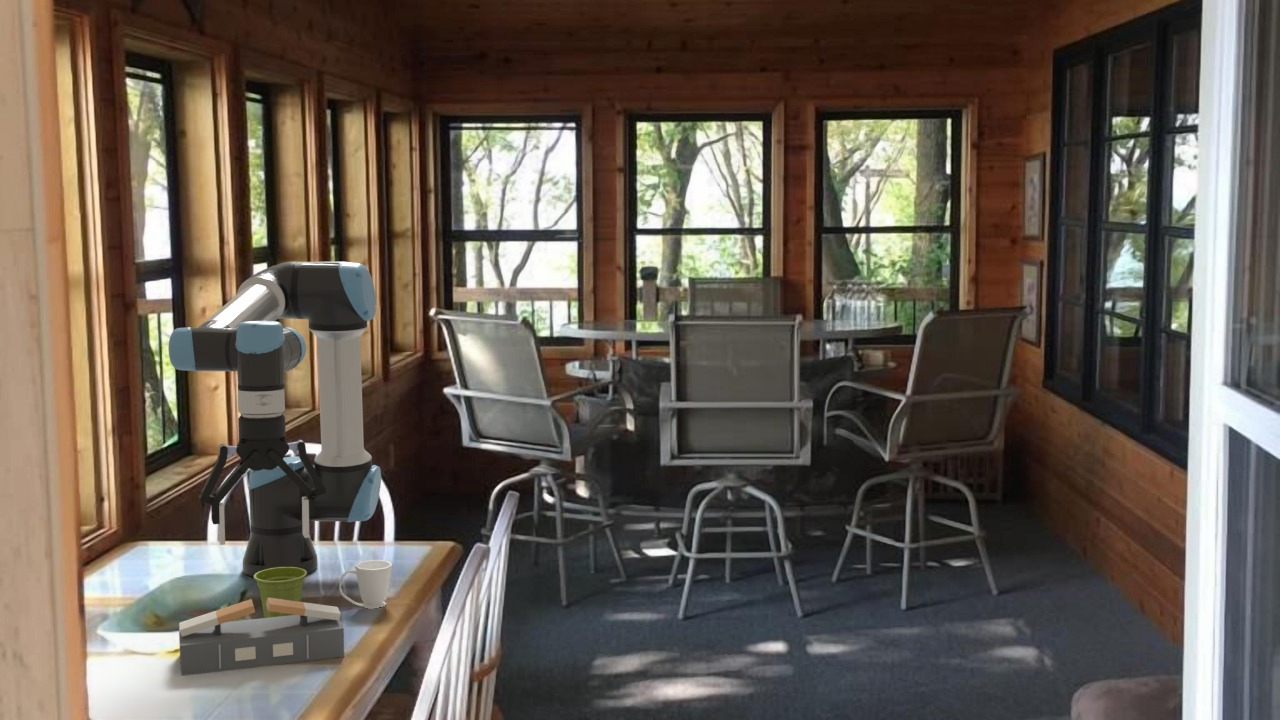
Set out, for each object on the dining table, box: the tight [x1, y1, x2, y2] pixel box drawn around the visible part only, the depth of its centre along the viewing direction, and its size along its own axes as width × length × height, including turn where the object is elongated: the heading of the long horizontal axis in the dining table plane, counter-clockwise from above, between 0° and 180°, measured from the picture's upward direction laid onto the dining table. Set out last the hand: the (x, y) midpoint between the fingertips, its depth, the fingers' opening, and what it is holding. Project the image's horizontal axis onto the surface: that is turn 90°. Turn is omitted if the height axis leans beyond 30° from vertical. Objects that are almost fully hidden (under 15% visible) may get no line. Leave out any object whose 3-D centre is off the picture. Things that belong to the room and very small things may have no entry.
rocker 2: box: [266, 597, 341, 620], centre depth 219 cm, size 4×12×1 cm, turn 111°
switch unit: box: [178, 615, 345, 676], centre depth 217 cm, size 10×26×7 cm, turn 111°
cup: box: [338, 559, 393, 610], centre depth 245 cm, size 7×10×8 cm
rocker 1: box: [178, 598, 256, 637], centre depth 214 cm, size 4×12×1 cm, turn 111°
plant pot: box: [253, 567, 308, 618], centre depth 236 cm, size 9×9×9 cm
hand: (264, 539), depth 216 cm, fingers open, 13 cm apart
